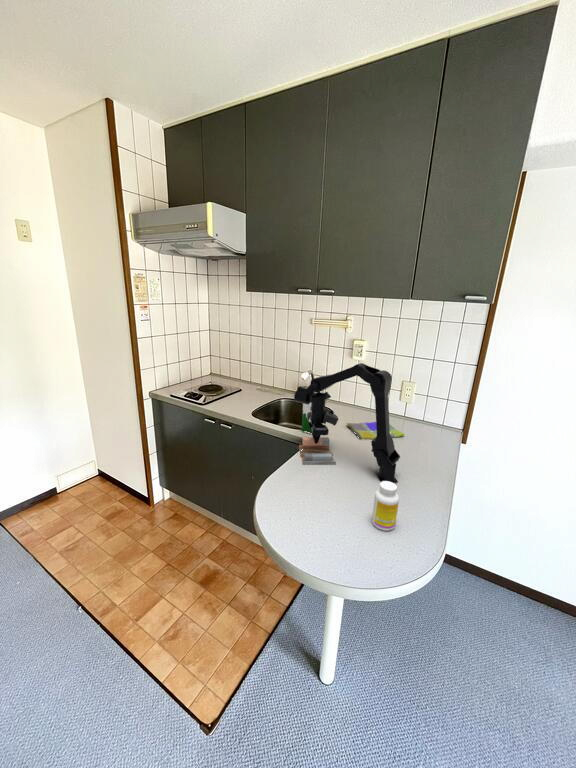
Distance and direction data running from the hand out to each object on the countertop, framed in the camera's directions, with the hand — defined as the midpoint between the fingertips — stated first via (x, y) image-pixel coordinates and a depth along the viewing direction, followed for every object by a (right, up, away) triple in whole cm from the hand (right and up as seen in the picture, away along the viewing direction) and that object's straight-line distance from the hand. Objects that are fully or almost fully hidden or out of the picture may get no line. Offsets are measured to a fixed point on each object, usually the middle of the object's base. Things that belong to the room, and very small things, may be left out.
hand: (315, 441), depth 132 cm
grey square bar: (0, -6, -7) cm, 9 cm away
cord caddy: (0, -6, -3) cm, 6 cm away
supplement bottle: (+16, -17, -40) cm, 46 cm away
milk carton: (0, +1, +23) cm, 23 cm away
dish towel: (+31, 0, +25) cm, 41 cm away
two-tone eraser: (0, -1, 0) cm, 1 cm away
